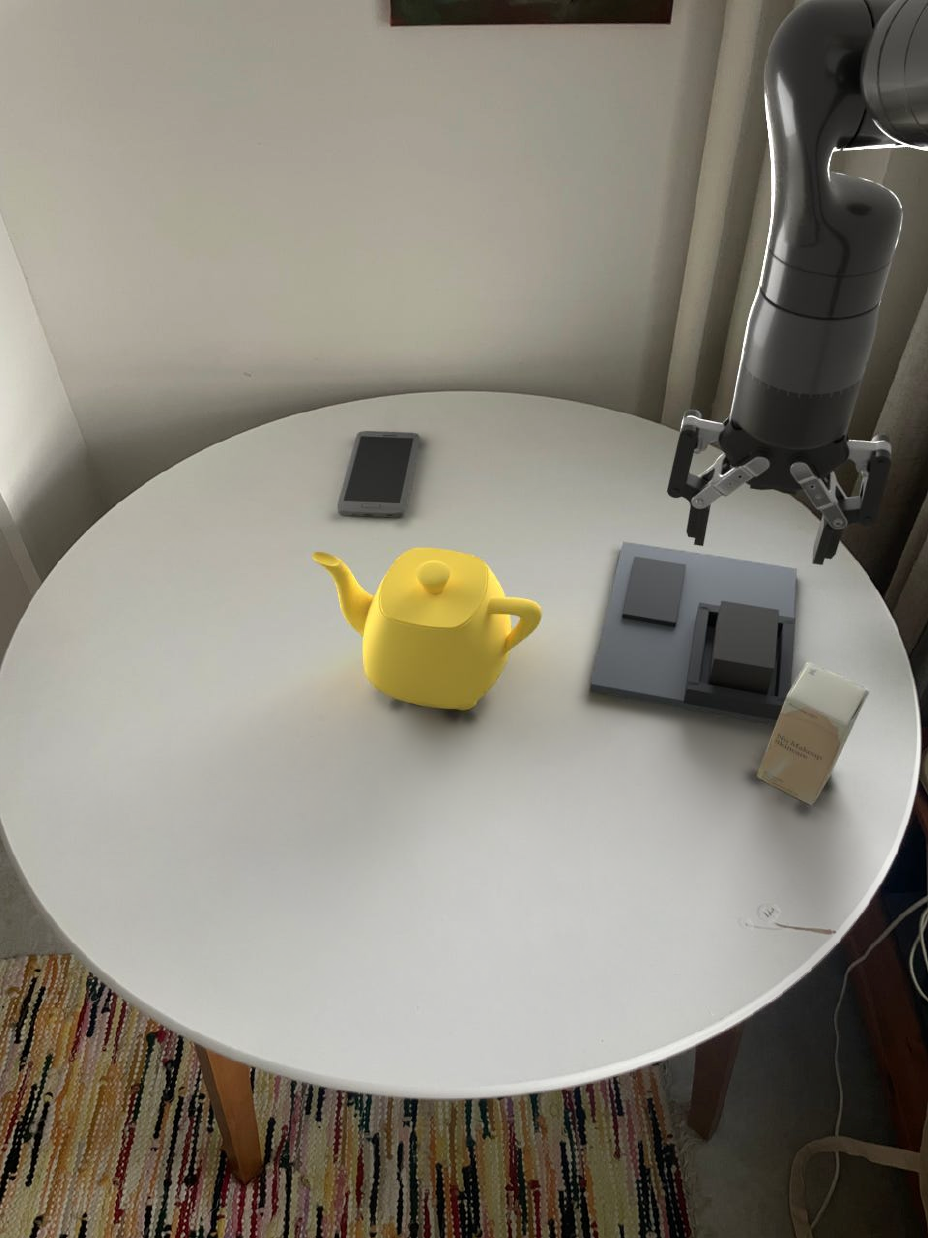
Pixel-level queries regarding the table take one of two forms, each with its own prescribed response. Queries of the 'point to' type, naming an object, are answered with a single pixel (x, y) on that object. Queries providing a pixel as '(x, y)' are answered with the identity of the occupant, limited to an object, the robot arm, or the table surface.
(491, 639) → the teapot
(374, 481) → the cell phone
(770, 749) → the box
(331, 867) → the table surface
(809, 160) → the robot arm
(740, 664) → the black block
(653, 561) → the base pad
